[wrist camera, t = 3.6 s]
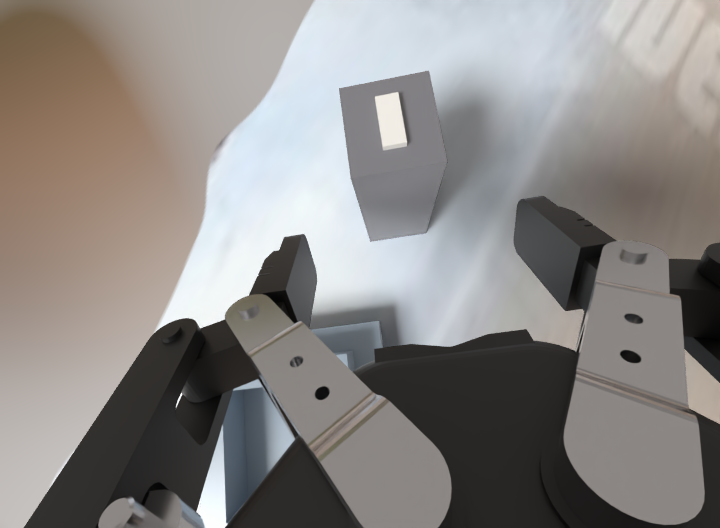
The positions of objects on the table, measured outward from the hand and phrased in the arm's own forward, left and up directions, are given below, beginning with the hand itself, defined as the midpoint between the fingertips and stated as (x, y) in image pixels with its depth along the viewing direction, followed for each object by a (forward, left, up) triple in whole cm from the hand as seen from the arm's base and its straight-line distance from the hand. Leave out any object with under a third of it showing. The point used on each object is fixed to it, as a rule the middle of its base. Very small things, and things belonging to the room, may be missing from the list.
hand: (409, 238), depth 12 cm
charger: (-3, -5, -10) cm, 12 cm away
